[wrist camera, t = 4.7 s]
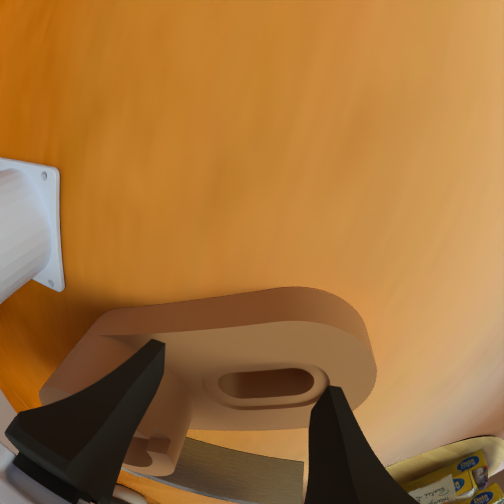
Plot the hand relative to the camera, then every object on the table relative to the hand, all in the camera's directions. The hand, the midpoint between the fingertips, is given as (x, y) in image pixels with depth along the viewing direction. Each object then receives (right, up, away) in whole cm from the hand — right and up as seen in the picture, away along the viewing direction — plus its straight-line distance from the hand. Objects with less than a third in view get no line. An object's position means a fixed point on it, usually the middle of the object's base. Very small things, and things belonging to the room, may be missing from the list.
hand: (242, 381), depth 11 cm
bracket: (-2, -1, +5) cm, 6 cm away
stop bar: (-4, -13, +11) cm, 18 cm away
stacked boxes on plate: (+23, -25, +13) cm, 36 cm away
